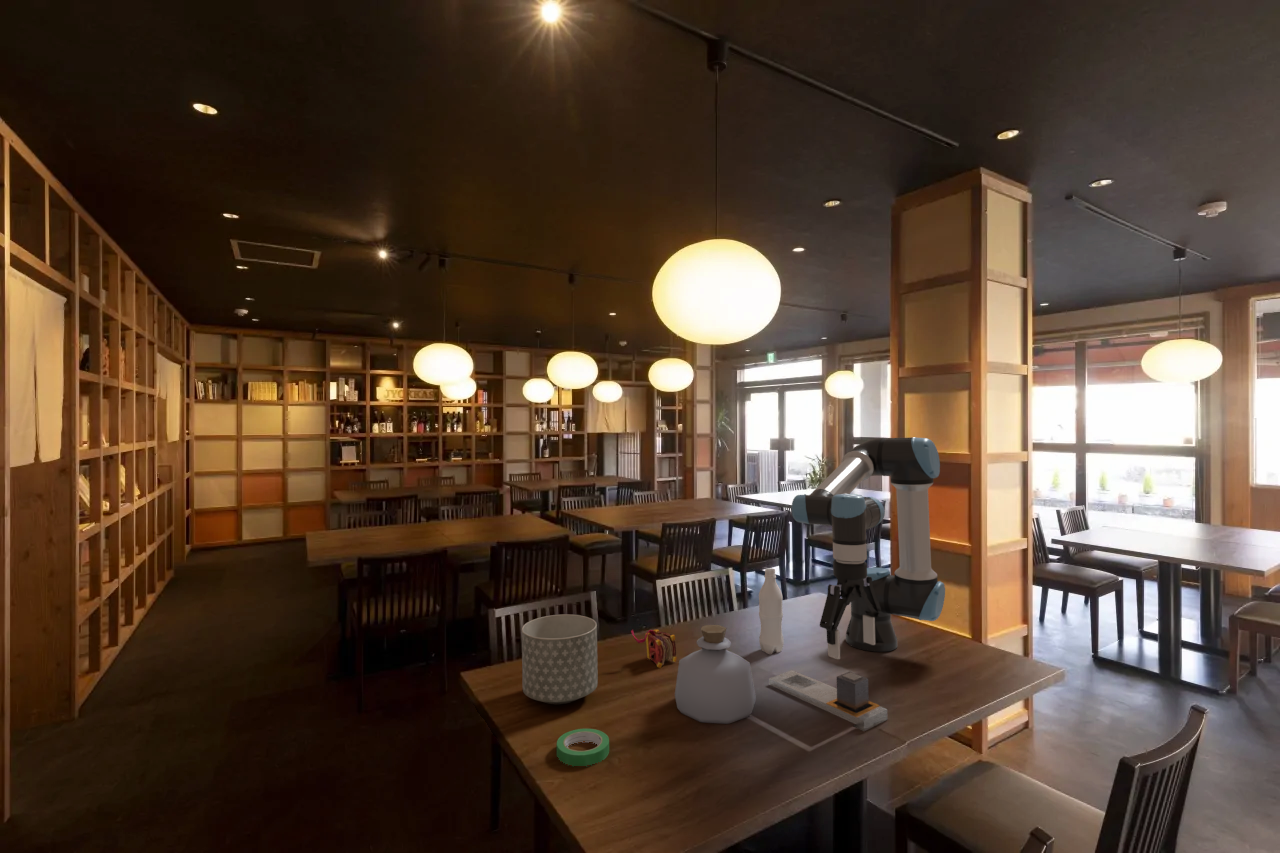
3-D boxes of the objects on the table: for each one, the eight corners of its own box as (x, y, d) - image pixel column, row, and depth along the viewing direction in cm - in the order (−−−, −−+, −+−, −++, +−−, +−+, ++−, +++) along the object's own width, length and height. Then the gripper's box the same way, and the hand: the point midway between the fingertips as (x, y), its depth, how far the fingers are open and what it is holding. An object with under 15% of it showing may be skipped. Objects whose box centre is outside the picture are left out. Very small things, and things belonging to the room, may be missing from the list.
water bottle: (784, 656, 173) (782, 572, 173) (759, 655, 175) (758, 571, 175) (783, 648, 180) (781, 567, 181) (759, 646, 182) (758, 566, 182)
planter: (567, 675, 162) (566, 609, 162) (613, 696, 149) (611, 625, 149) (508, 697, 149) (507, 626, 149) (552, 723, 135) (551, 644, 136)
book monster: (679, 663, 169) (642, 673, 164) (664, 653, 177) (628, 663, 172) (676, 626, 169) (639, 636, 164) (661, 619, 177) (626, 627, 172)
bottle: (660, 696, 148) (659, 622, 148) (727, 683, 155) (726, 612, 156) (696, 733, 130) (695, 648, 130) (771, 716, 137) (769, 636, 137)
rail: (792, 679, 157) (792, 669, 157) (887, 719, 134) (887, 708, 134) (769, 687, 152) (769, 677, 152) (864, 731, 129) (863, 719, 129)
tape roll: (572, 736, 130) (572, 723, 130) (617, 745, 126) (617, 732, 126) (546, 762, 120) (546, 749, 120) (594, 773, 116) (594, 759, 116)
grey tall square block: (850, 704, 140) (849, 670, 140) (868, 712, 136) (868, 677, 136) (837, 710, 137) (836, 675, 138) (855, 718, 133) (855, 682, 133)
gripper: (867, 550, 147) (869, 633, 148) (802, 565, 133) (804, 658, 133) (894, 554, 141) (897, 642, 141) (829, 572, 127) (832, 669, 127)
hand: (852, 650), depth 137 cm, fingers open, 13 cm apart
